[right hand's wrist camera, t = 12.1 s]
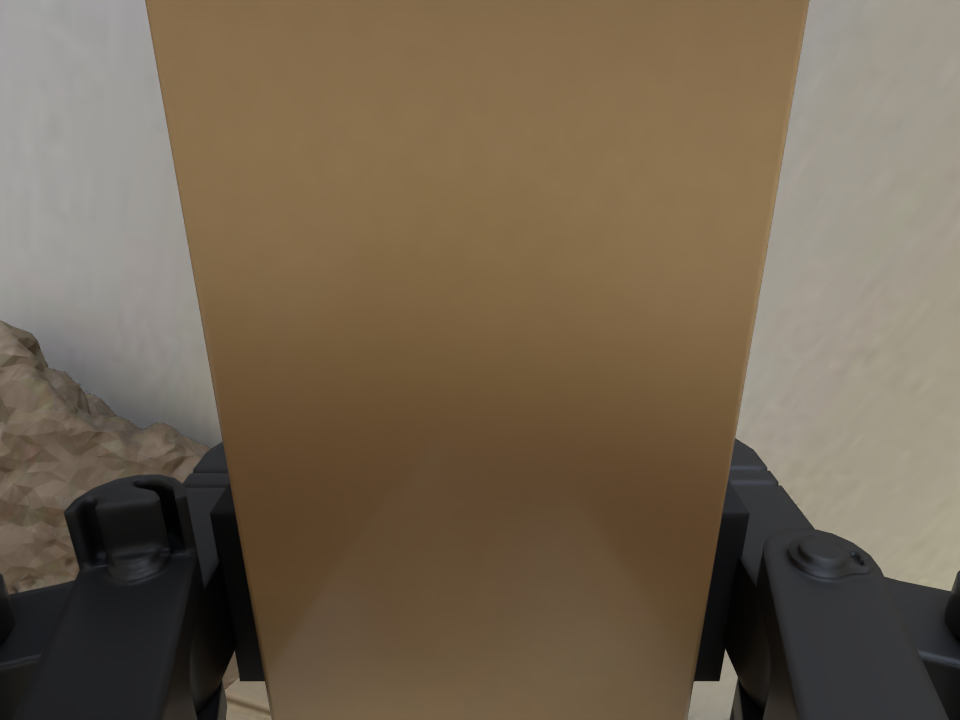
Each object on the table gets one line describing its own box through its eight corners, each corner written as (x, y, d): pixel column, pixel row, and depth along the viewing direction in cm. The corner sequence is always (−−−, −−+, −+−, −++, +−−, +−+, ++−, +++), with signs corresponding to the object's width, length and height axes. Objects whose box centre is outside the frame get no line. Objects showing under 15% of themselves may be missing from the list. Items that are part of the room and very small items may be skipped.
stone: (-147, 534, 34) (-232, 611, 28) (3, 299, 32) (-54, 330, 27) (228, 669, 42) (220, 748, 37) (361, 485, 41) (373, 539, 35)
